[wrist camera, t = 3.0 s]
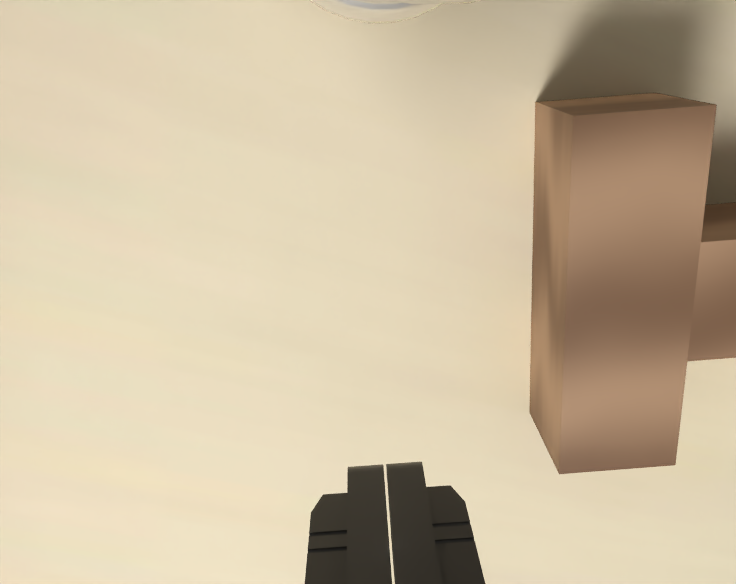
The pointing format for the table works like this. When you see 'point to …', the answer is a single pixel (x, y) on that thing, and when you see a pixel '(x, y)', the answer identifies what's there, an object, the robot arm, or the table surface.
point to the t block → (624, 275)
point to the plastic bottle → (382, 8)
